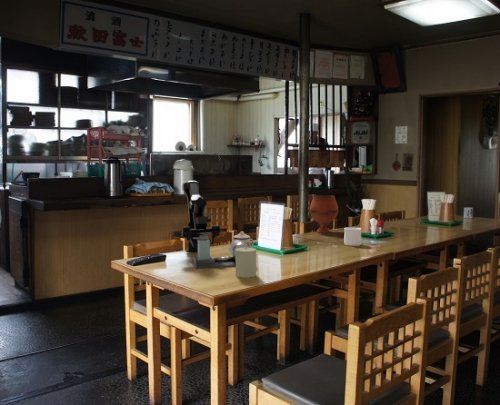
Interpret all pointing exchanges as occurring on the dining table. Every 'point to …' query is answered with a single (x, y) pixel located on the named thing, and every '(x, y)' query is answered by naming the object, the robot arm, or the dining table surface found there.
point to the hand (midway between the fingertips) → (203, 245)
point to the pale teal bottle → (203, 248)
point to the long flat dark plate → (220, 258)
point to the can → (245, 262)
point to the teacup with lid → (243, 238)
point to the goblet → (323, 211)
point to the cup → (352, 236)
